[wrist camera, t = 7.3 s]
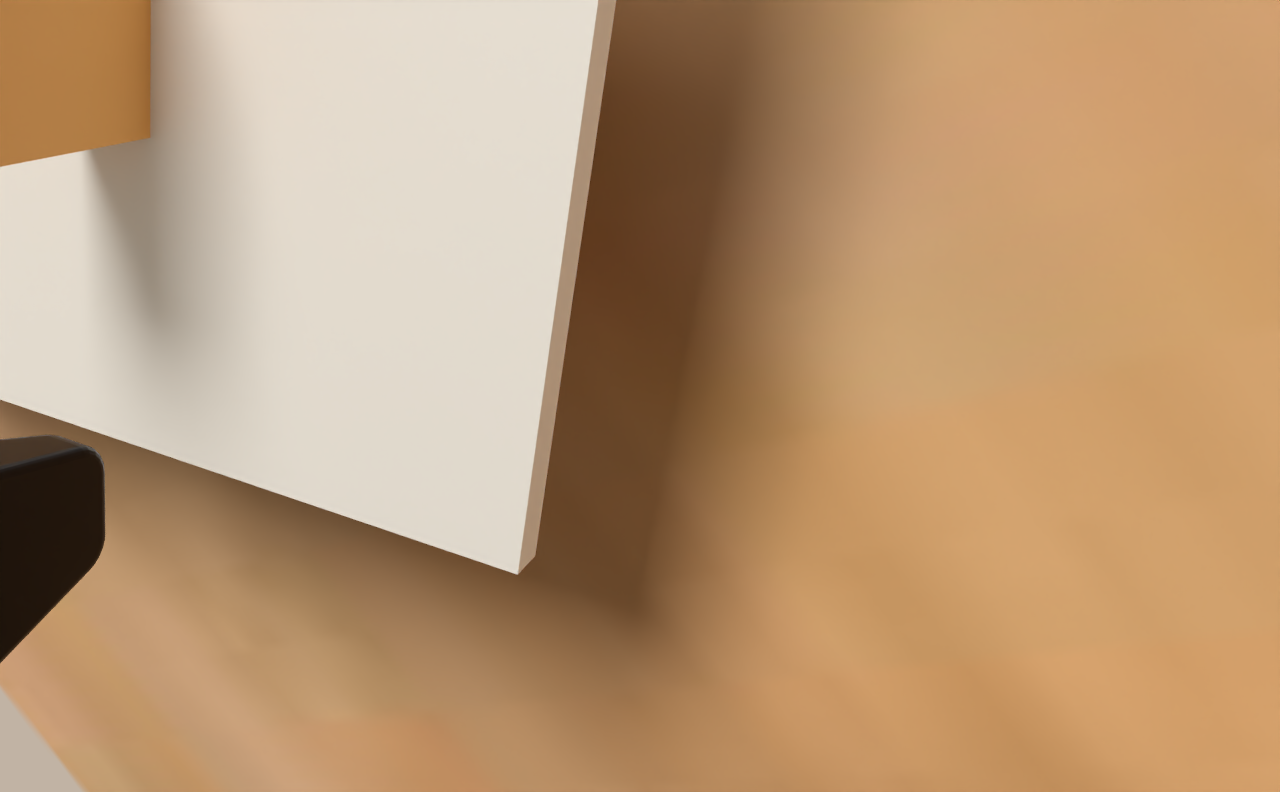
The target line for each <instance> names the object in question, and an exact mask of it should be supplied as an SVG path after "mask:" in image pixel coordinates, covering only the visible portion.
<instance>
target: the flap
mask: <svg viewBox="0 0 1280 792" xmlns="http://www.w3.org/2000/svg"><path fill="white" fill-rule="evenodd" d="M615 6H616V0H0V400H3V401H6V402H9V403H12V404H15V405H18V406H21V407H24V408H27V409H30V410H33V411H36V412H39V413H41V414H44V415H47V416H50V417H53V418H56V419H59V420H62V421H65V422H68V423H71V424H74V425H77V426H80V427H83V428H86V429H89V430H92V431H95V432H98V433H101V434H103V435H106V436H109V437H112V438H115V439H118V440H121V441H124V442H127V443H130V444H133V445H136V446H139V447H142V448H145V449H148V450H151V451H154V452H157V453H160V454H163V455H166V456H168V457H171V458H174V459H177V460H180V461H183V462H186V463H189V464H192V465H195V466H198V467H201V468H204V469H207V470H210V471H213V472H216V473H219V474H222V475H225V476H228V477H230V478H233V479H236V480H239V481H242V482H245V483H248V484H251V485H254V486H257V487H260V488H263V489H266V490H269V491H272V492H275V493H278V494H281V495H284V496H287V497H290V498H292V499H295V500H298V501H301V502H304V503H307V504H310V505H313V506H316V507H319V508H322V509H325V510H328V511H331V512H334V513H337V514H340V515H343V516H346V517H349V518H352V519H355V520H357V521H360V522H363V523H366V524H369V525H372V526H375V527H378V528H381V529H384V530H387V531H390V532H393V533H396V534H399V535H402V536H405V537H408V538H411V539H414V540H417V541H419V542H422V543H425V544H428V545H431V546H434V547H437V548H440V549H443V550H446V551H449V552H452V553H455V554H458V555H461V556H464V557H467V558H470V559H473V560H476V561H479V562H482V563H484V564H487V565H490V566H493V567H496V568H499V569H502V570H505V571H508V572H511V573H514V574H517V575H518V574H519V573H520V572H521V571H522V570H523V568H524V567H525V566H526V565H527V564H528V563H529V562H530V561H531V560H532V559H533V558H534V557H535V554H536V547H537V540H538V534H539V527H540V520H541V513H542V506H543V499H544V492H545V486H546V479H547V472H548V465H549V458H550V451H551V445H552V438H553V431H554V424H555V417H556V410H557V403H558V397H559V390H560V383H561V376H562V369H563V362H564V355H565V349H566V342H567V335H568V328H569V321H570V314H571V308H572V301H573V294H574V287H575V280H576V273H577V266H578V260H579V253H580V246H581V239H582V232H583V225H584V219H585V212H586V205H587V198H588V191H589V184H590V177H591V171H592V164H593V157H594V150H595V143H596V136H597V129H598V123H599V116H600V109H601V102H602V95H603V88H604V82H605V75H606V68H607V61H608V54H609V47H610V40H611V34H612V27H613V20H614V13H615Z"/></svg>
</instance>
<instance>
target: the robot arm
mask: <svg viewBox="0 0 1280 792" xmlns="http://www.w3.org/2000/svg"><path fill="white" fill-rule="evenodd" d="M104 541H105V471H104V463H103V461H102V458H101V456H100V454H99V453H98V452H97V451H96V450H95V449H93V448H92V447H89V446H86V445H83V444H80V443H77V442H75V441H72V440H69V439H66V438H63V437H60V436H55V435H40V436H30V437H20V438H10V439H0V663H1V662H2V661H3V660H4V659H5V658H6V657H7V656H8V655H9V653H10V652H11V651H12V650H13V649H14V648H15V647H16V646H17V645H18V644H19V643H20V642H21V641H22V640H23V639H24V638H25V637H26V636H27V635H28V634H29V633H30V632H31V631H32V630H33V629H34V627H35V626H36V625H37V624H38V623H39V622H40V621H41V620H42V619H43V618H44V617H45V616H46V615H47V614H48V613H49V612H50V611H51V610H52V609H53V608H54V607H55V606H56V605H57V604H58V603H59V601H60V600H61V599H62V598H63V597H64V596H65V595H66V594H67V593H68V592H69V591H70V590H71V589H72V588H73V587H74V586H75V585H76V584H77V583H78V582H79V581H80V580H81V579H82V578H83V577H84V575H85V574H86V573H87V572H88V571H89V570H90V569H91V568H92V567H93V566H94V564H95V563H96V561H97V559H98V558H99V556H100V553H101V551H102V549H103V545H104Z"/></svg>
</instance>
